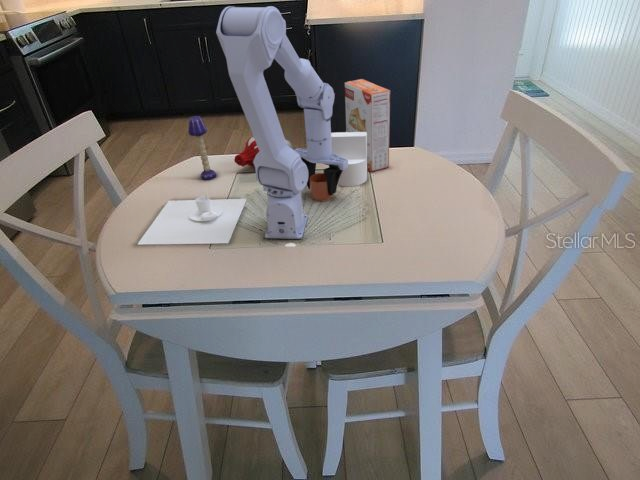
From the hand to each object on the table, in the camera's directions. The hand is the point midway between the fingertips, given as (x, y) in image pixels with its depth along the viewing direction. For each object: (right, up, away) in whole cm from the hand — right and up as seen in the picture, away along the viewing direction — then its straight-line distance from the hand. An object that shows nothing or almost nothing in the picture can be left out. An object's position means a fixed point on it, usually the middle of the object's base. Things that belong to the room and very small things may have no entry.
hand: (322, 190), depth 111 cm
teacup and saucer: (-29, -8, -5) cm, 30 cm away
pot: (0, -1, +1) cm, 2 cm away
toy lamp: (-31, +5, +15) cm, 35 cm away
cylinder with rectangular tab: (+7, +4, +8) cm, 12 cm away
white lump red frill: (-16, +9, +18) cm, 26 cm away
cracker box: (+13, +10, +17) cm, 23 cm away
